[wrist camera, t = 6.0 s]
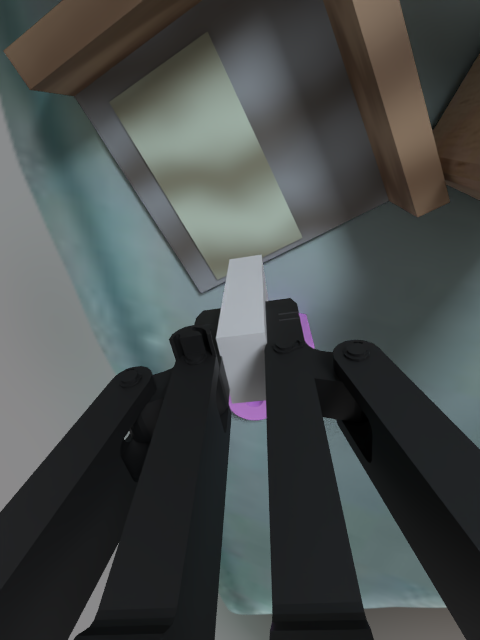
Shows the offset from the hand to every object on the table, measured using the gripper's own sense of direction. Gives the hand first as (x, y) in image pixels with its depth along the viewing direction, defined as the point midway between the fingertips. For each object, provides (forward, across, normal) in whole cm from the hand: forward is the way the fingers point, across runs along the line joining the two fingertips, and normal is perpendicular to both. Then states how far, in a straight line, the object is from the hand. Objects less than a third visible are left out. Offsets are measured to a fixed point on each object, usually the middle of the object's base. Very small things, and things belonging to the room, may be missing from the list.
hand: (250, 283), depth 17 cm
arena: (+14, -2, +3) cm, 14 cm away
